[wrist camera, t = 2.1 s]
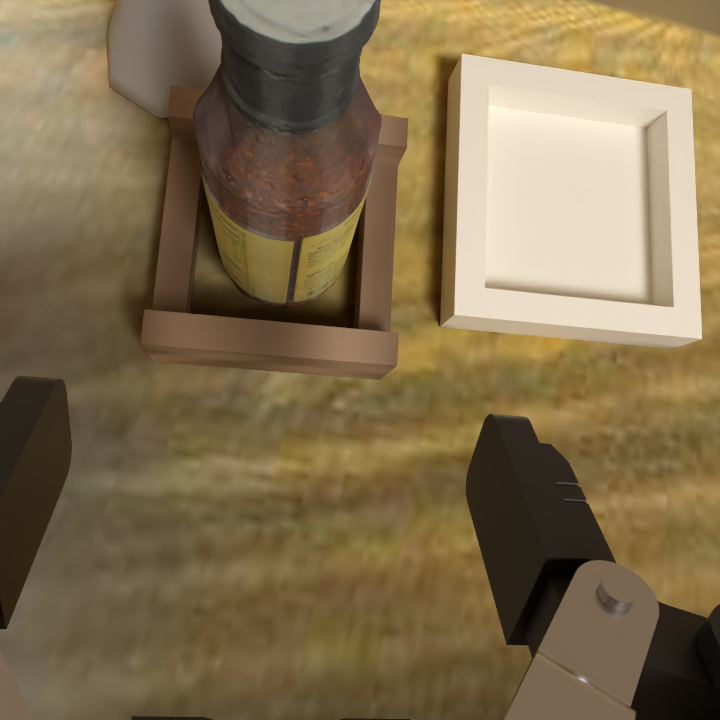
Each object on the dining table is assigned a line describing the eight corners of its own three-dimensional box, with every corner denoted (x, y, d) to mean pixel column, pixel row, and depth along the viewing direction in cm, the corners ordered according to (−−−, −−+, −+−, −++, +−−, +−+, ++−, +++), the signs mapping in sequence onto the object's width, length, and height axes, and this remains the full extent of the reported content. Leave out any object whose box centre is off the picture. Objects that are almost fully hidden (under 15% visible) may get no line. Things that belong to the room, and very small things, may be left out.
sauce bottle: (338, 195, 36) (446, -151, 16) (347, 311, 35) (474, 88, 15) (209, 195, 35) (163, -175, 15) (214, 316, 33) (171, 81, 14)
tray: (440, 326, 35) (454, 314, 33) (447, 81, 38) (461, 53, 36) (672, 348, 37) (702, 339, 35) (664, 113, 40) (691, 89, 37)
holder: (152, 361, 33) (140, 344, 29) (179, 130, 35) (171, 85, 31) (379, 379, 34) (397, 365, 30) (390, 157, 37) (408, 118, 33)
